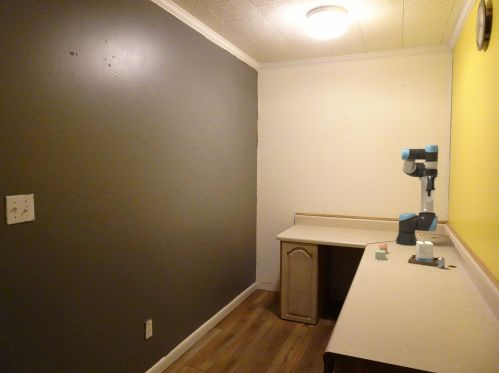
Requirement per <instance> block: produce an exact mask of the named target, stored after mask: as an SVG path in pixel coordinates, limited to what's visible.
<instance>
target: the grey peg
mask: <svg viewBox="0 0 499 373" xmlns="http://www.w3.org/2000/svg"><path fill="white" fill-rule="evenodd" d="M437 258H438V267H437V268H438V269H440V270H444V269H445V266H446V258H445V257H442V256H438V257H437Z"/></svg>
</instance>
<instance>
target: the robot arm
mask: <svg viewBox="0 0 499 373" xmlns="http://www.w3.org/2000/svg"><path fill="white" fill-rule="evenodd" d="M401 160H402V161H403V164H402V171H403V173H404V174H406V175H407V176H409V177H412V178H418V180H419V181H420V211H419V212H418V214H416V213H415V212H403V213H400V214H399V215H398V234H397V237H396V239H395V243H396V244H398V245H402V246H403V245H404V246H416V241H418V239H417V236H416V231H419V232H421V231H422V232H435V231H436V230H437V226H438V221H439V216H438V215H436V214H437V213H436V212H434V201H435V190H436V188H435V181H436V179H437V178H438V177H439V171H438V167H439V145H438V144H428V145H426V146H425V148H404V149H402V150H401ZM418 160H421V161H422V160H423V162H416V161H418ZM424 161H425V162H424Z"/></svg>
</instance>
